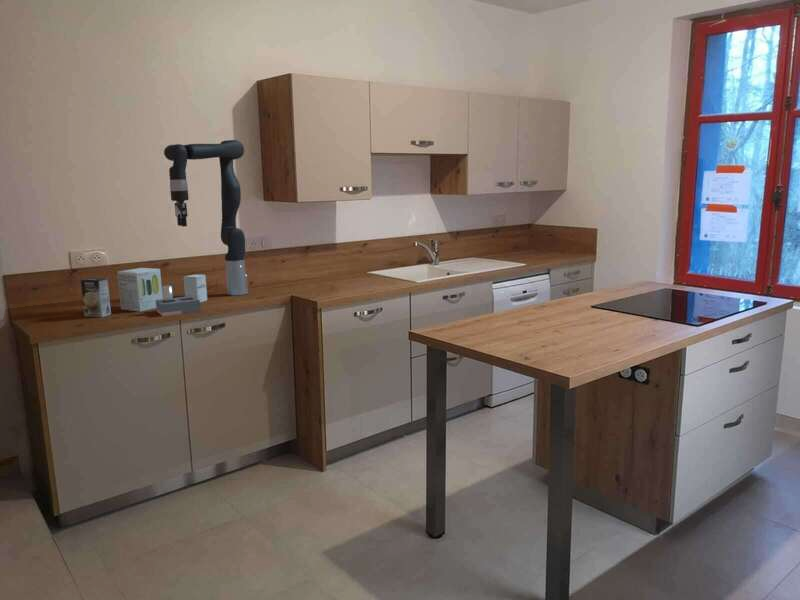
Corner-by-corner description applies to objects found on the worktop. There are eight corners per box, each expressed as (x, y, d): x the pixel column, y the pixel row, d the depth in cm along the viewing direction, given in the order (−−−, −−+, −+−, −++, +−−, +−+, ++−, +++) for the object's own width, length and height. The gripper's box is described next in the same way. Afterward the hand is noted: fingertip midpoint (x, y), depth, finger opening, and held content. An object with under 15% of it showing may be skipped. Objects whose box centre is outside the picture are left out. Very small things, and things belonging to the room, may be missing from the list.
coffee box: (83, 316, 272) (79, 279, 269) (94, 313, 278) (89, 277, 275) (102, 317, 270) (98, 280, 267) (112, 314, 276) (108, 277, 273)
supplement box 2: (198, 303, 295) (195, 276, 293) (185, 303, 298) (182, 276, 295) (208, 300, 302) (205, 274, 300) (195, 300, 305) (192, 274, 302)
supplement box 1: (140, 311, 279) (136, 272, 276) (120, 309, 286) (116, 271, 282) (164, 306, 291) (160, 268, 287) (145, 304, 297) (141, 267, 294)
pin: (173, 307, 278) (171, 285, 277) (174, 309, 275) (172, 286, 273) (163, 308, 276) (161, 286, 275) (165, 310, 273) (163, 287, 271)
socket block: (193, 306, 288) (192, 295, 287) (200, 311, 276) (199, 300, 275) (156, 311, 280) (155, 299, 279) (162, 316, 268) (161, 304, 267)
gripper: (191, 189, 282) (194, 226, 284) (184, 189, 294) (187, 224, 297) (173, 190, 278) (176, 227, 281) (167, 190, 290) (170, 225, 293)
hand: (182, 226), depth 289 cm, fingers open, 8 cm apart
